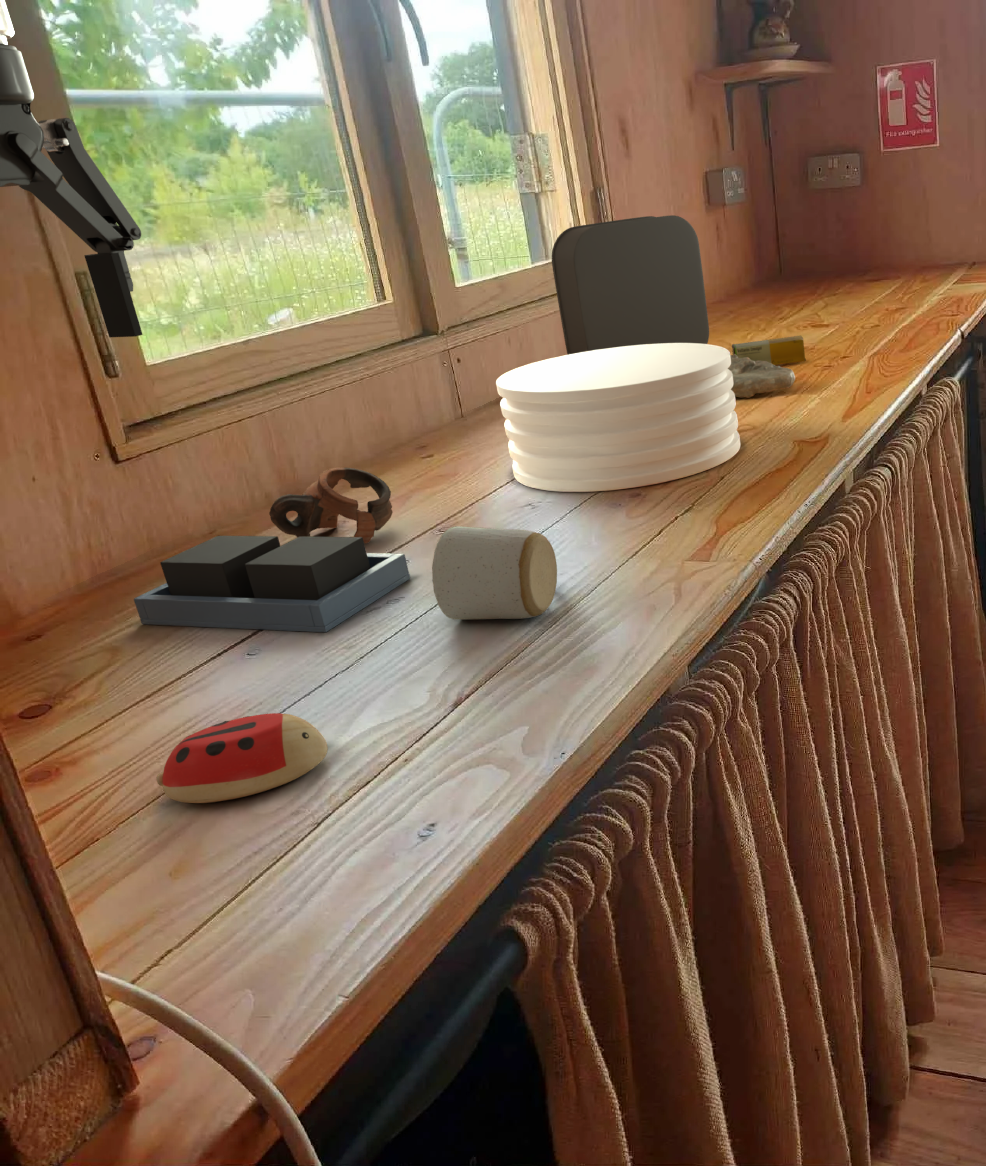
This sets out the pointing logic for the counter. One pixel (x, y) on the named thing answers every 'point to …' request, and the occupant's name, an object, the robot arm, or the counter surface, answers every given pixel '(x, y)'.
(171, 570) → the seated pad
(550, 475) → the plate stack
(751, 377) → the elongated rock
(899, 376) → the counter surface
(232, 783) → the ladybug figurine
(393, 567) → the pad tray
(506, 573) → the ceramic mug
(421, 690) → the counter surface
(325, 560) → the loose pad
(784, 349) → the medication box
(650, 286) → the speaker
